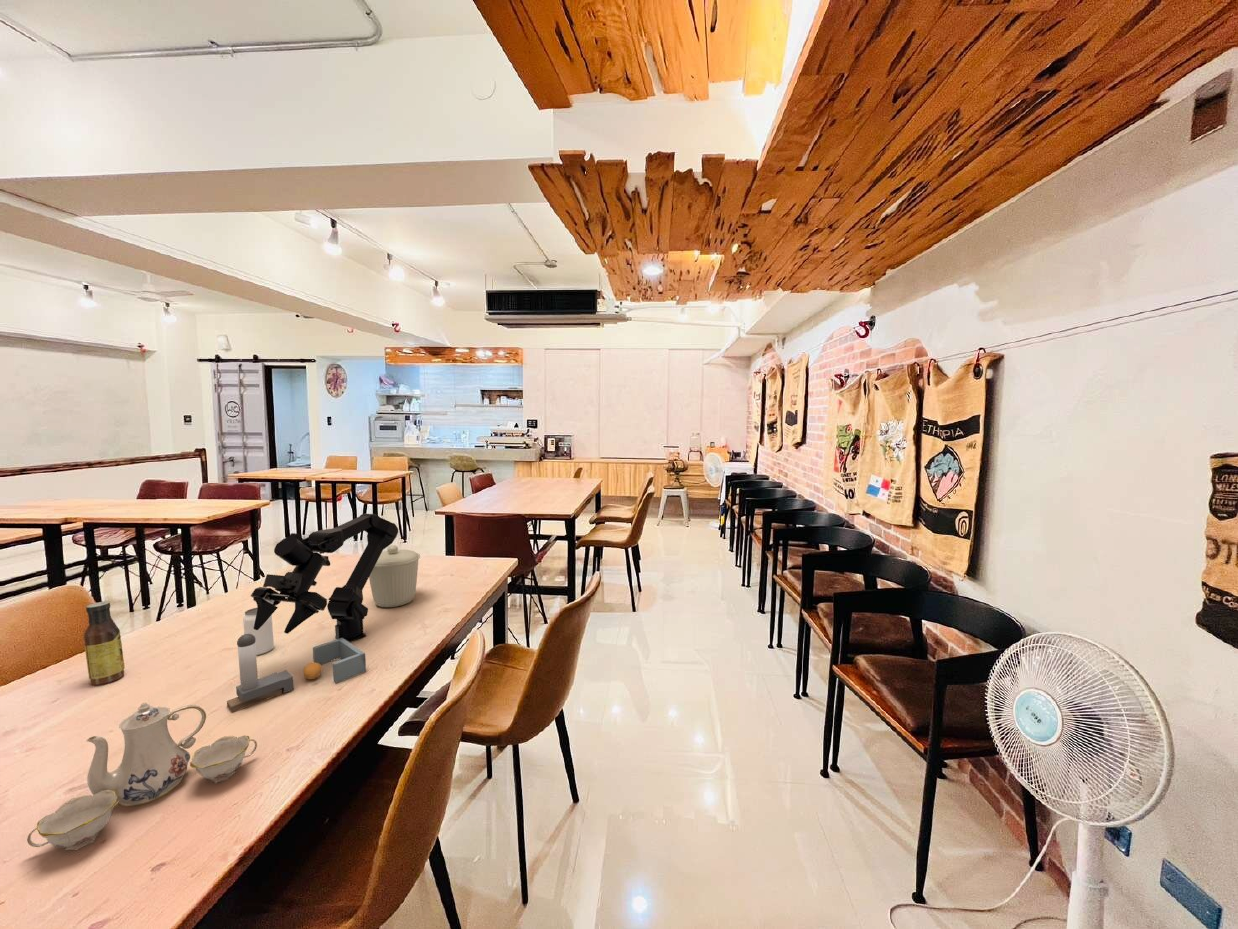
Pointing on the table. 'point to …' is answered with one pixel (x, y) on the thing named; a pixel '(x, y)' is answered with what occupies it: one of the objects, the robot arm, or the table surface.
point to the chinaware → (138, 774)
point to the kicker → (249, 676)
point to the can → (259, 632)
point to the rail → (250, 701)
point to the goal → (350, 655)
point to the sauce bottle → (103, 645)
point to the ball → (312, 670)
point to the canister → (394, 577)
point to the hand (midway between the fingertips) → (270, 631)
